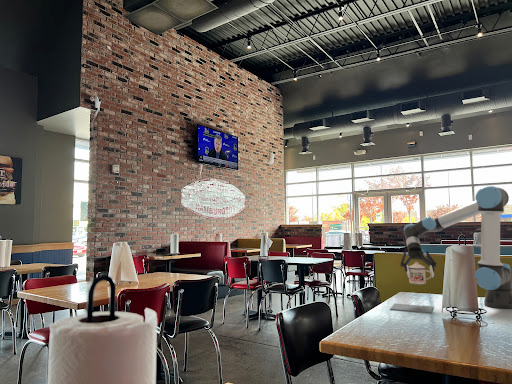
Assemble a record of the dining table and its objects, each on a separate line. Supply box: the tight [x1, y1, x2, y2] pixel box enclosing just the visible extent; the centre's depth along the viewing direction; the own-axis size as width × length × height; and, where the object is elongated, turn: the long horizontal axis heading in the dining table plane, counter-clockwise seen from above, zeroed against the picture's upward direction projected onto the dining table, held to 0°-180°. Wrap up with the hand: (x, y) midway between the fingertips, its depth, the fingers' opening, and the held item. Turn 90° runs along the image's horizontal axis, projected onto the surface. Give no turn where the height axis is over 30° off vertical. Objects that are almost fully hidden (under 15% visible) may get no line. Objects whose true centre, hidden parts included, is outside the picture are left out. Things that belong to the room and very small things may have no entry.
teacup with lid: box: [408, 261, 432, 285], centre depth 215 cm, size 12×9×12 cm
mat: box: [389, 302, 434, 314], centre depth 206 cm, size 20×16×1 cm
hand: (420, 276), depth 213 cm, fingers closed on teacup with lid, 12 cm apart
